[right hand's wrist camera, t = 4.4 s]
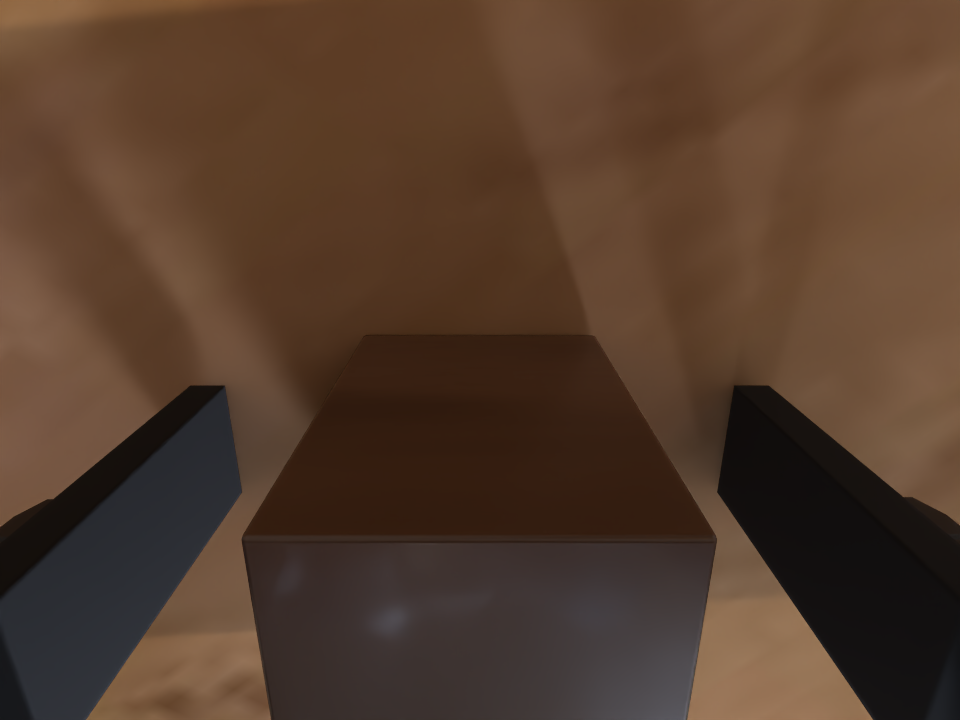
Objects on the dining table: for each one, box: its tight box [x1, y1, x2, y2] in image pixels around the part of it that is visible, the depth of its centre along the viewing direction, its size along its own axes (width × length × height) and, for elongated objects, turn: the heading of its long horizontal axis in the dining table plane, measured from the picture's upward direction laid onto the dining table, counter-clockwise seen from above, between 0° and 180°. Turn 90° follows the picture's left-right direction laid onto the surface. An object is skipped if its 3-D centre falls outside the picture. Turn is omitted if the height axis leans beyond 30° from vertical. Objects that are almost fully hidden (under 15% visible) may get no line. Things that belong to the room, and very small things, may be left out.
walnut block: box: [242, 335, 717, 720], centre depth 10 cm, size 5×5×7 cm
